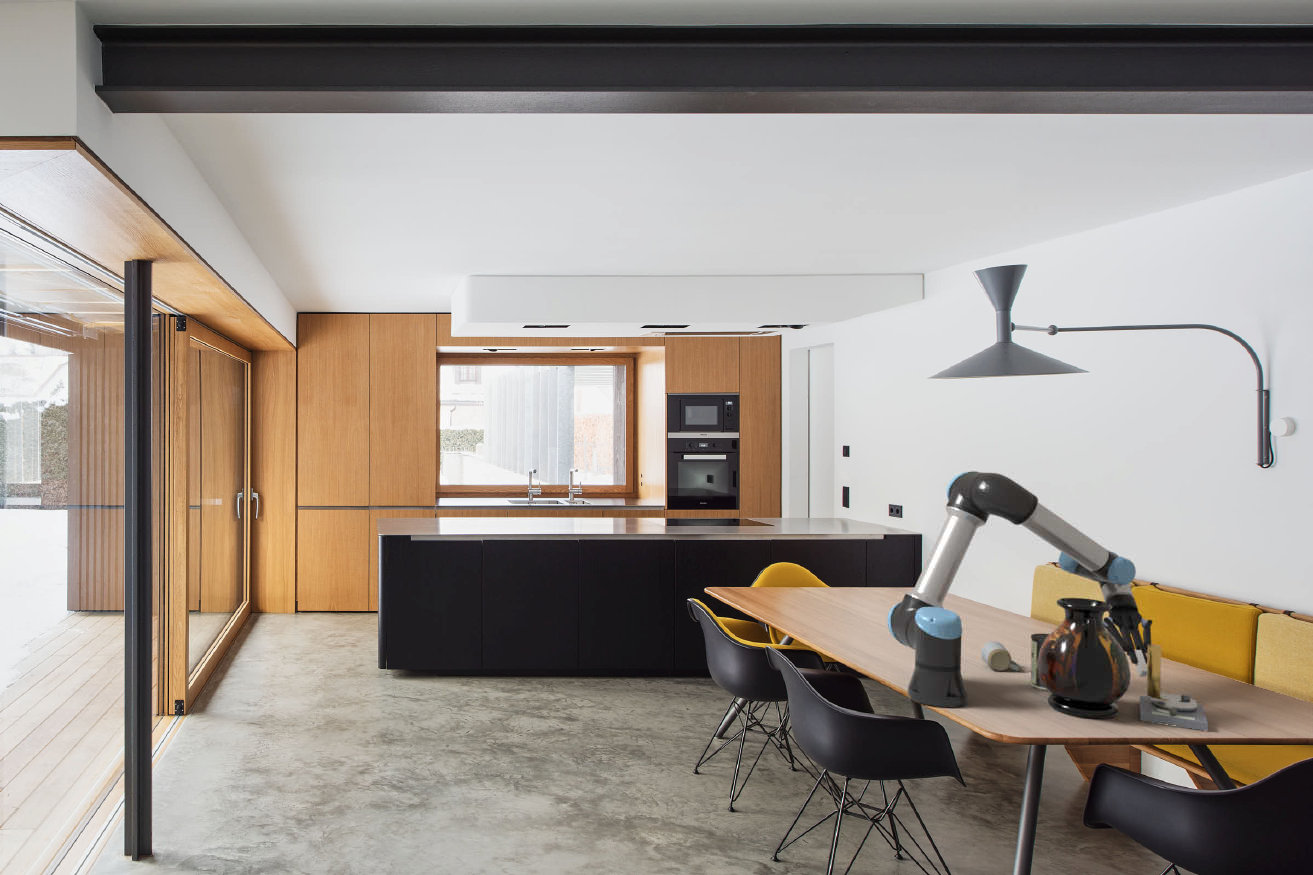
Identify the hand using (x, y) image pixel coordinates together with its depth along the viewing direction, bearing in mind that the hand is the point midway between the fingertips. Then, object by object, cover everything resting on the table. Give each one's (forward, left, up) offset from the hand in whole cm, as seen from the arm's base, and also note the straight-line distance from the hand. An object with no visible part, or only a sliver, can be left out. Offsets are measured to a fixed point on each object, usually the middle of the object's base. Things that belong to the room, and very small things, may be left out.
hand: (1143, 673), depth 221 cm
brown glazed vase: (-15, +14, -8) cm, 22 cm away
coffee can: (+4, +23, -8) cm, 25 cm away
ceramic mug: (+17, +38, -8) cm, 42 cm away
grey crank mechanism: (-8, -6, -8) cm, 13 cm away
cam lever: (-6, -6, -6) cm, 10 cm away
